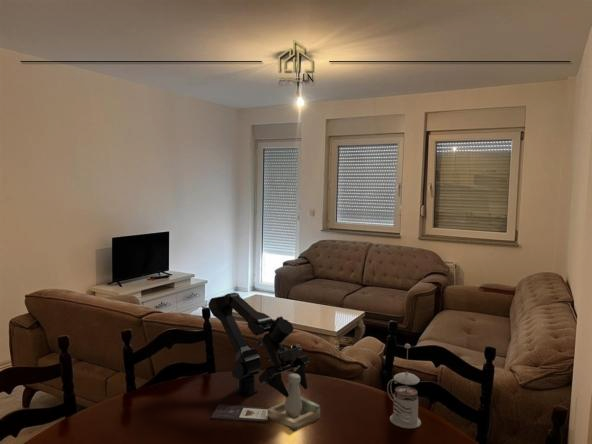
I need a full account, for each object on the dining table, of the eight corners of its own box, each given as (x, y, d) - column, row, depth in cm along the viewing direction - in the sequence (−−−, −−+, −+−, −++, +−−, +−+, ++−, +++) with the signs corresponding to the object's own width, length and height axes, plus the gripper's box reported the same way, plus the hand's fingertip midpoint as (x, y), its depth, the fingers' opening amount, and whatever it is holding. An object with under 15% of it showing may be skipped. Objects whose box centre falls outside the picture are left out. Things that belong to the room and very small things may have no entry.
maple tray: (267, 416, 138) (267, 404, 138) (293, 404, 147) (294, 393, 146) (293, 431, 130) (293, 418, 130) (319, 417, 138) (320, 405, 138)
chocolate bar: (218, 404, 145) (270, 407, 143) (218, 406, 145) (270, 410, 143) (210, 417, 136) (266, 421, 134) (210, 420, 136) (266, 424, 134)
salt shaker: (286, 419, 135) (286, 379, 134) (282, 411, 140) (283, 372, 140) (303, 417, 136) (304, 377, 136) (299, 409, 142) (300, 370, 141)
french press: (409, 431, 131) (412, 351, 130) (379, 417, 139) (381, 341, 138) (427, 421, 137) (429, 344, 136) (396, 407, 146) (399, 335, 145)
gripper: (265, 343, 133) (289, 389, 126) (306, 331, 146) (330, 372, 139) (248, 361, 139) (270, 406, 132) (289, 348, 152) (311, 388, 145)
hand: (297, 392), depth 137 cm, fingers open, 8 cm apart
